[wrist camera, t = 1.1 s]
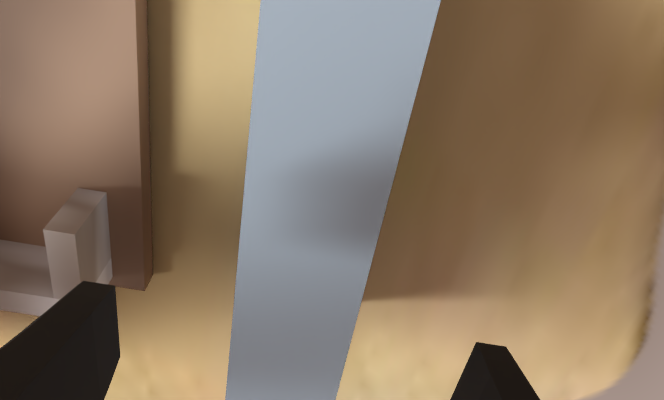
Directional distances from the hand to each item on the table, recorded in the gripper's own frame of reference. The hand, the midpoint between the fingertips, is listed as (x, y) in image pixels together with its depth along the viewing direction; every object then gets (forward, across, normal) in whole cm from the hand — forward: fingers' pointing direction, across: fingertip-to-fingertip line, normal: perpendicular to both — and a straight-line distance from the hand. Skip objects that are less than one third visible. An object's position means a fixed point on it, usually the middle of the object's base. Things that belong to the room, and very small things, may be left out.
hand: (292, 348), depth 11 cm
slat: (+10, 0, 0) cm, 10 cm away
